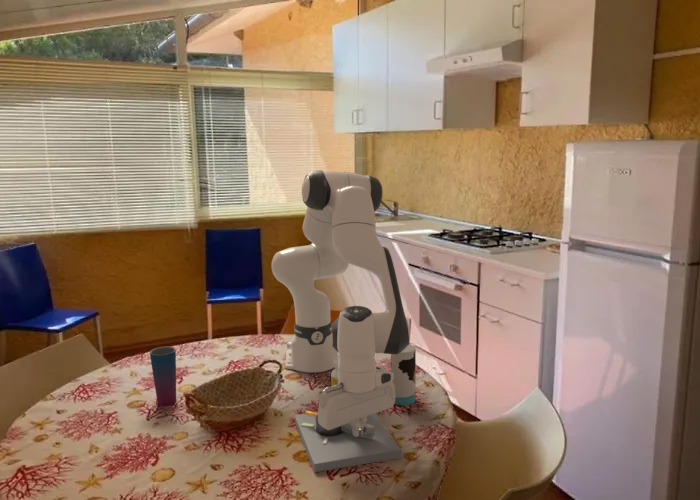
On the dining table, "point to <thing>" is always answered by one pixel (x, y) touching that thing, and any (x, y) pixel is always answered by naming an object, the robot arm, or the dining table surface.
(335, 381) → the pill bottle
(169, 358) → the cup
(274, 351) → the dining table surface
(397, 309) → the robot arm
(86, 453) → the dining table surface
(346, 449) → the stand base
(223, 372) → the dining table surface
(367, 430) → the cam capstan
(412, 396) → the cup
